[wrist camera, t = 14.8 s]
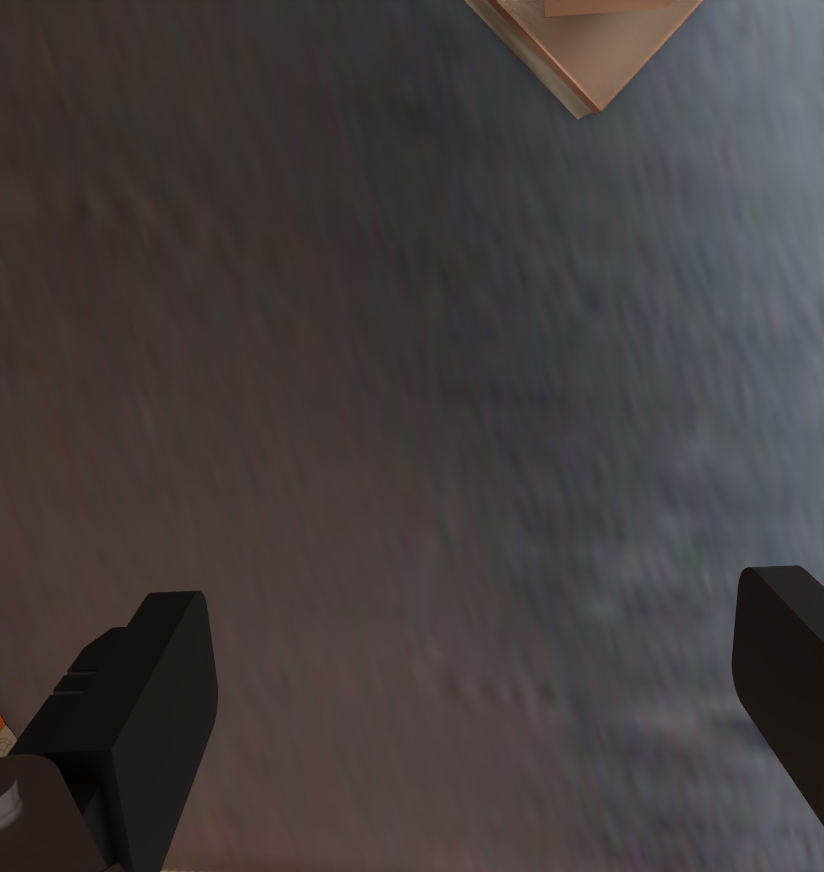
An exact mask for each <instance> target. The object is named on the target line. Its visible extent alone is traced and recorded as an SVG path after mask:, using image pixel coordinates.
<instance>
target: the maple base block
mask: <svg viewBox="0 0 824 872" xmlns="http://www.w3.org/2000/svg"><path fill="white" fill-rule="evenodd" d="M464 1H465V2H466V3H467V4H468V5H469V6H470V7H471V8H472V9H473V10H474V11H475V12H476V13H477V14H478V15H479V17H480V18H481V19H482V20H483V21H484V22H485V23H486V24H487V25H488V26H489V27H490V28H491V29H492V30H493V31H494V32H495V33H496V34H497V35H498V36H499V38H500V39H501V40H502V41H503V42H504V43H505V44H506V45H507V46H508V47H509V48H510V49H511V50H512V51H513V52H514V53H515V54H516V55H517V56H518V58H519V59H520V60H521V61H522V62H523V63H524V64H525V65H526V66H527V67H528V68H529V69H530V70H531V71H532V72H533V73H534V74H535V75H536V76H537V77H538V79H539V80H540V81H541V82H542V83H543V84H544V85H545V86H546V87H547V88H548V89H549V90H550V91H551V92H552V93H553V94H554V95H555V96H556V97H557V99H558V100H559V101H560V102H561V103H562V104H563V105H564V106H565V107H566V108H567V109H568V110H569V111H570V112H571V113H572V114H573V115H574V116H575V117H576V118H577V120H578V119H580V118H582V117H584V116H586V115H588V114H590V113H592V112H593V113H594V114H597V113H599V112H601V111H602V110H603V109H604V108H605V107H606V106H607V105H608V103H609V102H610V101H611V100H612V99H613V98H614V97H615V96H616V95H617V94H618V93H619V91H620V90H621V89H622V88H623V87H624V86H625V85H626V84H627V83H628V82H629V81H630V79H631V78H632V77H633V76H634V75H635V74H636V73H637V72H638V71H639V70H640V69H641V67H642V66H643V65H644V64H645V63H646V62H647V61H648V60H649V59H650V58H651V57H652V56H653V54H654V53H655V52H656V51H657V50H658V49H659V48H660V47H661V46H662V45H663V44H664V42H665V41H666V40H667V39H668V38H669V37H670V36H671V35H672V34H673V33H674V32H675V30H676V29H677V28H678V27H679V26H680V25H681V24H682V23H683V22H684V21H685V20H686V18H687V17H688V16H689V15H690V14H691V13H692V12H693V11H694V10H695V9H696V8H697V6H698V5H699V4H700V3H701V2H702V1H703V0H676V1H675V2H674V3H672V4H671V5H670V6H668V7H667V8H661V9H648V10H635V11H621V12H608V13H595V14H581V15H568V16H555V17H545V6H544V0H464Z"/></svg>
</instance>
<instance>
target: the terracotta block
mask: <svg viewBox="0 0 824 872" xmlns="http://www.w3.org/2000/svg"><path fill="white" fill-rule="evenodd" d="M675 1H676V0H544V6H545V17H555V16H568V15H581V14H595V13H608V12H621V11H635V10H648V9H661V8H667V7H668V6H670V5H671V4H672V3H674V2H675Z"/></svg>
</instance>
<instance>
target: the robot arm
mask: <svg viewBox="0 0 824 872" xmlns="http://www.w3.org/2000/svg"><path fill="white" fill-rule="evenodd" d="M732 674H733V680H734V685H735V689H736V692H737V695H738V697H739V700H740V702H741V703H742V705H743V707H744V708H745V710H746V711H747V713H748V714H749V716H750V717H751V719H752V720H753V722H754V723H755V725H756V726H757V728H758V729H759V731H760V732H761V734H762V735H763V737H764V738H765V740H766V741H767V743H768V744H769V746H770V747H771V749H772V750H773V751H774V753H775V754H776V756H777V757H778V759H779V760H780V762H781V763H782V765H783V766H784V768H785V769H786V771H787V772H788V774H789V775H790V777H791V778H792V780H793V781H794V783H795V784H796V786H797V787H798V789H799V790H800V792H801V793H802V795H803V796H804V798H805V799H806V801H807V802H808V804H809V805H810V807H811V808H812V810H813V811H814V813H815V814H816V816H817V817H818V819H819V820H820V822H821V823H822V824H823V826H824V586H822V585H821V584H820V583H819V582H818V581H817V580H816V579H815V578H814V577H813V576H812V575H810V574H809V573H808V572H807V571H806V570H805V569H804V568H802V567H801V566H797V565H794V566H771V567H749V568H745V569H744V570H743V571H742V573H741V575H740V579H739V584H738V594H737V605H736V617H735V629H734V640H733V652H732ZM217 703H218V685H217V676H216V669H215V661H214V654H213V646H212V639H211V632H210V624H209V617H208V610H207V604H206V600H205V597H204V595H203V593H202V592H201V591H181V592H158V593H150V594H148V595H147V596H146V598H145V599H144V601H143V602H142V604H141V605H140V607H139V608H138V610H137V611H136V613H135V615H134V616H133V618H132V619H131V621H130V622H129V624H128V625H127V627H116V628H111V629H110V630H108V631H107V632H106V633H104V634H103V635H101V636H100V637H99V638H97V639H96V640H94V641H93V642H92V643H90V644H89V645H87V646H86V647H85V648H84V649H83V650H82V651H81V653H80V654H79V655H78V657H77V658H76V660H75V661H74V662H73V664H72V665H71V667H70V668H69V669H68V671H67V675H64V676H63V678H62V679H61V680H60V682H59V683H58V685H57V686H56V687H55V689H54V693H53V695H50V696H49V697H48V698H47V700H46V701H45V703H44V704H43V705H42V707H41V708H40V710H39V711H38V712H37V714H36V715H35V716H34V718H33V719H32V721H31V722H30V723H29V725H28V726H27V728H26V729H25V730H24V732H23V733H22V735H21V736H20V737H19V739H18V740H17V741H16V743H15V744H14V746H13V747H12V748H11V750H10V751H9V753H8V754H7V755H6V756H4V757H0V872H160V871H161V869H162V866H163V863H164V860H165V858H166V855H167V852H168V850H169V847H170V844H171V841H172V839H173V836H174V833H175V830H176V828H177V825H178V822H179V819H180V817H181V814H182V811H183V809H184V806H185V803H186V800H187V798H188V795H189V792H190V789H191V787H192V784H193V781H194V778H195V776H196V773H197V770H198V767H199V765H200V762H201V759H202V757H203V754H204V751H205V748H206V746H207V743H208V740H209V737H210V735H211V732H212V729H213V726H214V723H215V719H216V713H217Z"/></svg>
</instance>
